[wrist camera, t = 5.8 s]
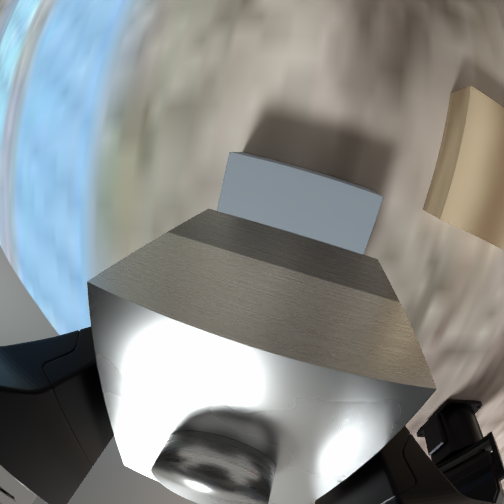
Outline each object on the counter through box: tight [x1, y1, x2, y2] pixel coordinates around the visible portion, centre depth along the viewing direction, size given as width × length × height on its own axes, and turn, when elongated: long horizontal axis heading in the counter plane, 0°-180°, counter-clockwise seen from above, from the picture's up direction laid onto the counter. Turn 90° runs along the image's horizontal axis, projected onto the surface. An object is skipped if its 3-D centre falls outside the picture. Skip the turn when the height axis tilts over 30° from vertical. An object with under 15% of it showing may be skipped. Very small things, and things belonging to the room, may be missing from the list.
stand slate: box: [217, 152, 383, 254], centre depth 18 cm, size 9×9×3 cm
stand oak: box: [423, 86, 504, 250], centre depth 13 cm, size 9×9×3 cm
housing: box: [87, 209, 437, 504], centre depth 6 cm, size 5×6×6 cm
